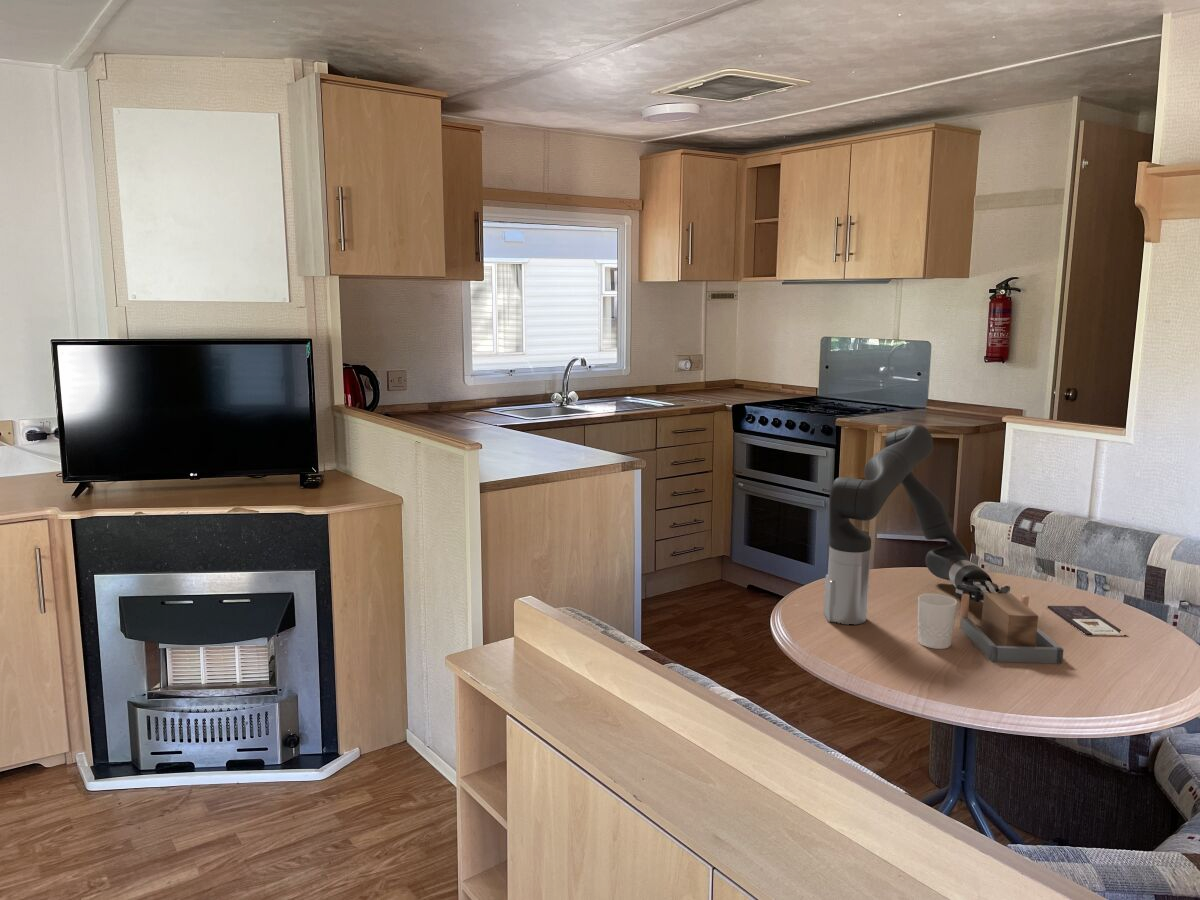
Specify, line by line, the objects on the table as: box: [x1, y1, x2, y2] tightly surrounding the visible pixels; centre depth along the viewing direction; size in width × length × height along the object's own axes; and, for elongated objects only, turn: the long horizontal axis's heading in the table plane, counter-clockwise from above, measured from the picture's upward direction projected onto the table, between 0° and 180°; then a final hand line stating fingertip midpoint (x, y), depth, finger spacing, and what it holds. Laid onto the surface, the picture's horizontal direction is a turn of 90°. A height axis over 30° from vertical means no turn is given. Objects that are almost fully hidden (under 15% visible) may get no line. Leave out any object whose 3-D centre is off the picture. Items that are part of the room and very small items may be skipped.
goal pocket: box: [958, 594, 1064, 664], centre depth 196 cm, size 15×19×8 cm
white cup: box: [917, 593, 958, 650], centre depth 196 cm, size 8×8×10 cm
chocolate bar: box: [1046, 605, 1121, 636], centre depth 211 cm, size 9×1×18 cm
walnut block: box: [980, 593, 1039, 647], centre depth 196 cm, size 6×14×9 cm, turn 177°
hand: (997, 603), depth 203 cm, fingers closed
